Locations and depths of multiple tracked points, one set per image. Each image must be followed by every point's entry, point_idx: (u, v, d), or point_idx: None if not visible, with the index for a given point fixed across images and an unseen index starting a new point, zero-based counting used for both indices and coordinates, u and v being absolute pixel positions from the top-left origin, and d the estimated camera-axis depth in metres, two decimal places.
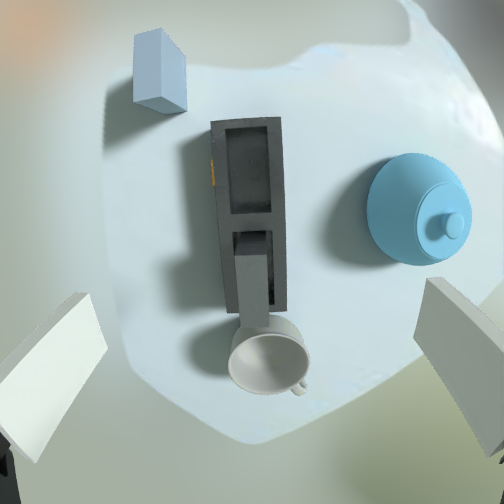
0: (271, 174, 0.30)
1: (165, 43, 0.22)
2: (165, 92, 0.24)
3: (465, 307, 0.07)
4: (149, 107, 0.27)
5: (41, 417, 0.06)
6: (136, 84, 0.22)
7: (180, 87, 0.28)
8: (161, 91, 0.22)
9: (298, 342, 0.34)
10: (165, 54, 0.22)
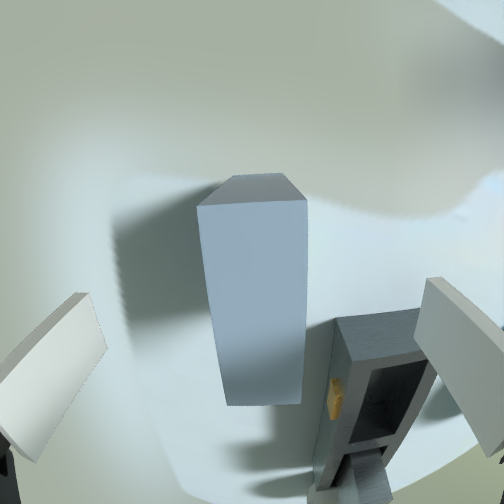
0: (410, 406, 0.17)
1: None
2: None
3: (465, 307, 0.07)
4: None
5: (41, 417, 0.06)
6: (231, 375, 0.10)
7: None
8: (301, 395, 0.10)
9: None
10: None
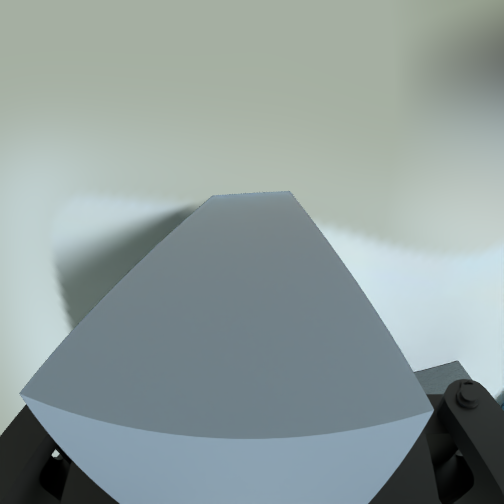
0: None
1: None
2: None
3: None
4: None
5: None
6: None
7: None
8: None
9: None
10: None
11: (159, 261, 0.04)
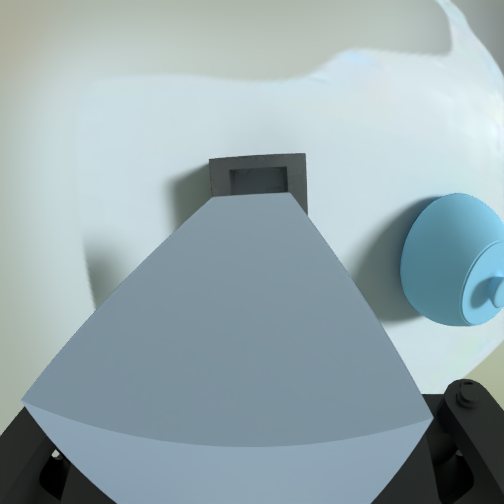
0: None
1: None
2: None
3: None
4: None
5: None
6: None
7: None
8: None
9: None
10: None
11: (159, 265, 0.04)
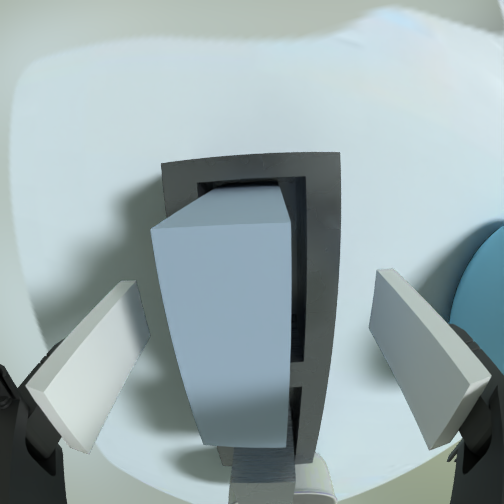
0: (310, 293, 0.13)
1: None
2: None
3: (408, 296, 0.08)
4: None
5: (96, 404, 0.07)
6: (205, 417, 0.08)
7: None
8: (286, 439, 0.08)
9: (325, 494, 0.17)
10: None
11: (198, 204, 0.09)
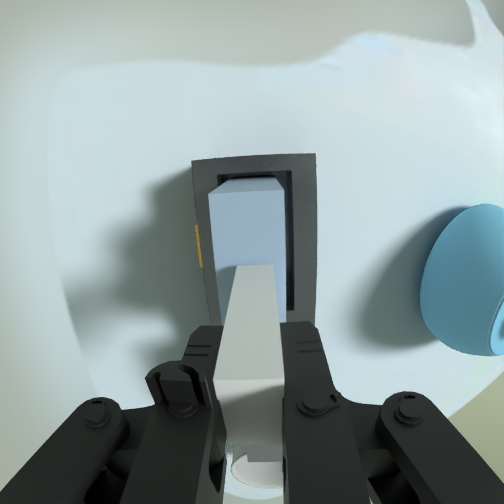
0: (296, 254, 0.18)
1: None
2: None
3: (260, 290, 0.09)
4: None
5: None
6: None
7: None
8: None
9: None
10: None
11: (226, 186, 0.14)
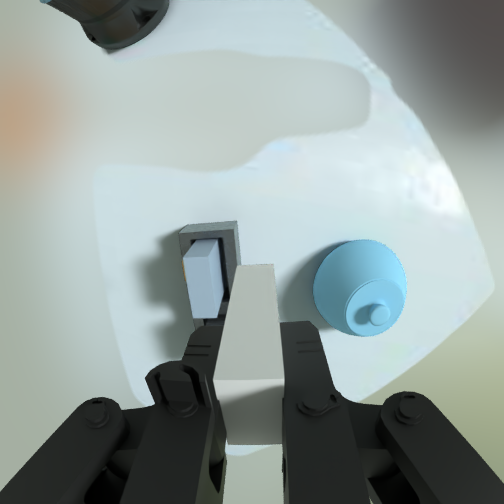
0: (228, 274, 0.39)
1: (211, 264, 0.33)
2: (217, 308, 0.35)
3: (260, 290, 0.09)
4: None
5: None
6: (193, 305, 0.34)
7: (221, 275, 0.40)
8: (216, 314, 0.34)
9: None
10: (213, 274, 0.34)
11: (191, 249, 0.34)
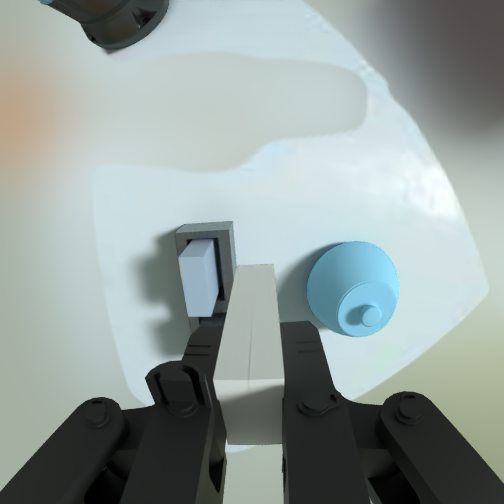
0: (223, 274, 0.39)
1: (206, 263, 0.34)
2: (212, 307, 0.36)
3: (260, 290, 0.09)
4: None
5: None
6: (188, 303, 0.34)
7: (216, 275, 0.41)
8: (210, 312, 0.35)
9: None
10: (208, 274, 0.35)
11: (187, 249, 0.35)
